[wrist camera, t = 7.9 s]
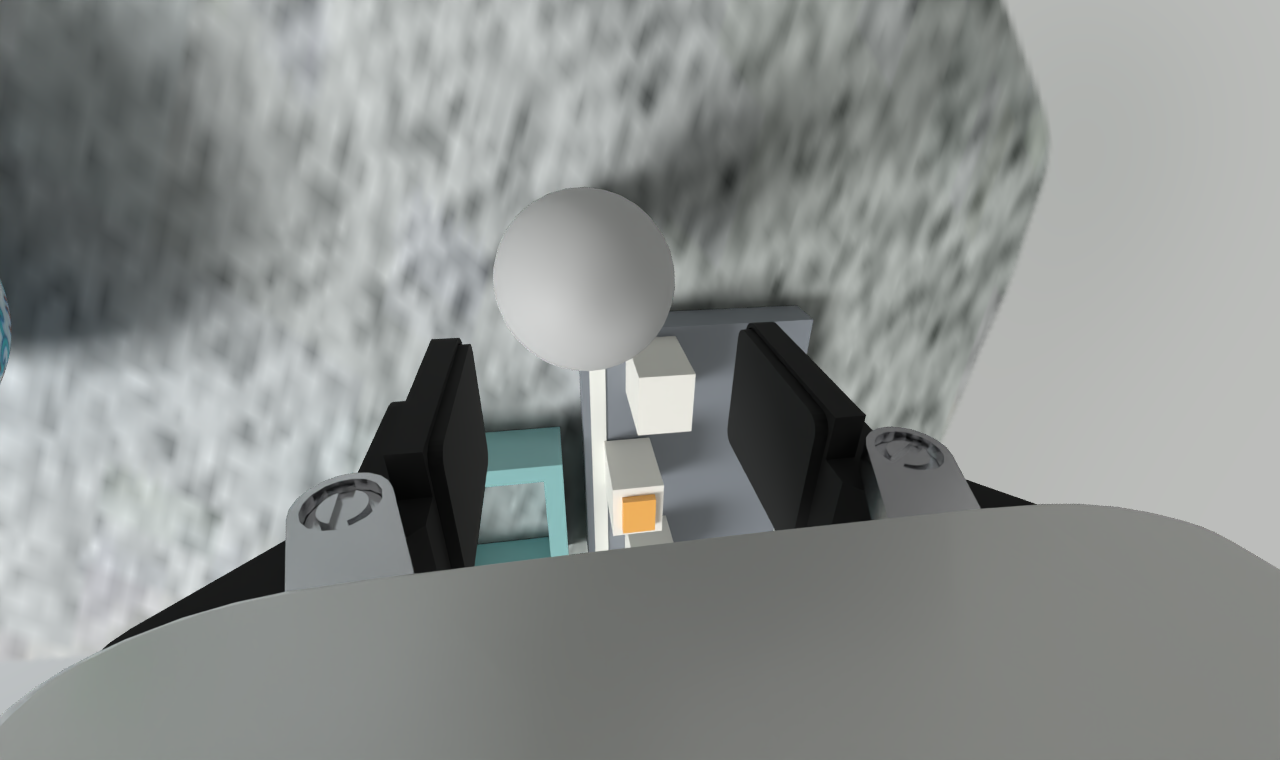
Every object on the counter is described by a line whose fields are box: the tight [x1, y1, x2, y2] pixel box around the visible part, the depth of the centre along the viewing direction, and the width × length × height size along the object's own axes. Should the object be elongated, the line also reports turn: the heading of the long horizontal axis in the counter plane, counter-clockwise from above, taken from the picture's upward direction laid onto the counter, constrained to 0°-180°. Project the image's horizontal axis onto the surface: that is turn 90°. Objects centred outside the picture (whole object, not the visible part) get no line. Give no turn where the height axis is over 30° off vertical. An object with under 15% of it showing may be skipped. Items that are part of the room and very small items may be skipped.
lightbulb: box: [493, 187, 675, 371], centre depth 20 cm, size 6×6×11 cm
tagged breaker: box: [604, 438, 664, 536], centre depth 28 cm, size 3×2×4 cm
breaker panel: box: [579, 305, 813, 552], centre depth 29 cm, size 16×12×6 cm
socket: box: [475, 427, 569, 566], centre depth 30 cm, size 10×10×4 cm
